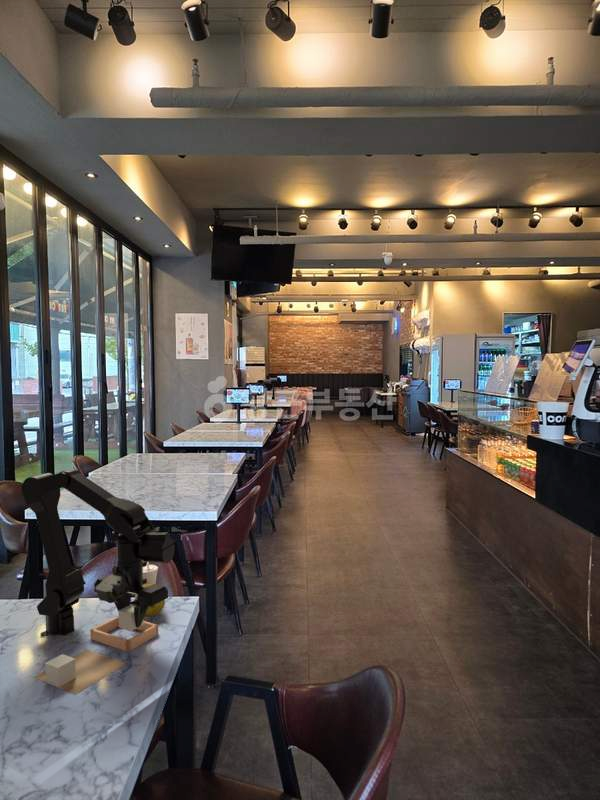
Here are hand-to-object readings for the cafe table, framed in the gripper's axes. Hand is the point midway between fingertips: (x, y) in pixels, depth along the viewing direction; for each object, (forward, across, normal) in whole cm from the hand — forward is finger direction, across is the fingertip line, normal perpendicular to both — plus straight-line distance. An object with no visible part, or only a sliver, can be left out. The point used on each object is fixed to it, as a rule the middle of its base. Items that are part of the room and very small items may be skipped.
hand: (131, 624), depth 127 cm
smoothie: (+5, -14, +18) cm, 24 cm away
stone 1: (+3, +1, -20) cm, 20 cm away
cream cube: (0, 0, 0) cm, 0 cm away
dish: (+4, -2, 0) cm, 5 cm away
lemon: (+5, -7, +13) cm, 15 cm away
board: (+4, +1, -15) cm, 16 cm away
